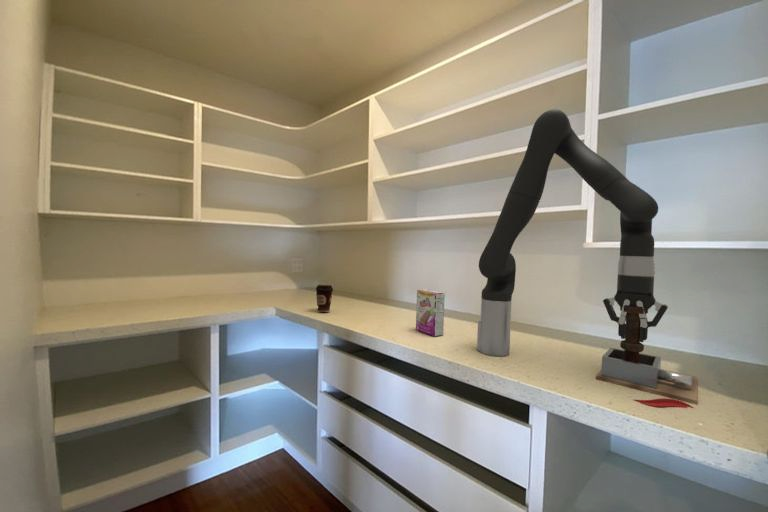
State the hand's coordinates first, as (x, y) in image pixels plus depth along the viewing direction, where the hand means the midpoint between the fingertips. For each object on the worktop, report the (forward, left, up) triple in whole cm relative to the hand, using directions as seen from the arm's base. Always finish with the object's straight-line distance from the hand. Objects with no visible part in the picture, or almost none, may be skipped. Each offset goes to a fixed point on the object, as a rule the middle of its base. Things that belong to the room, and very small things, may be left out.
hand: (632, 339), depth 85 cm
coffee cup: (-124, -8, -11) cm, 124 cm away
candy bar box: (-63, -2, -11) cm, 64 cm away
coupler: (0, 0, -11) cm, 11 cm away
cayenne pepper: (+7, -12, -11) cm, 18 cm away
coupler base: (0, 0, -11) cm, 11 cm away
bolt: (0, 0, -6) cm, 6 cm away
